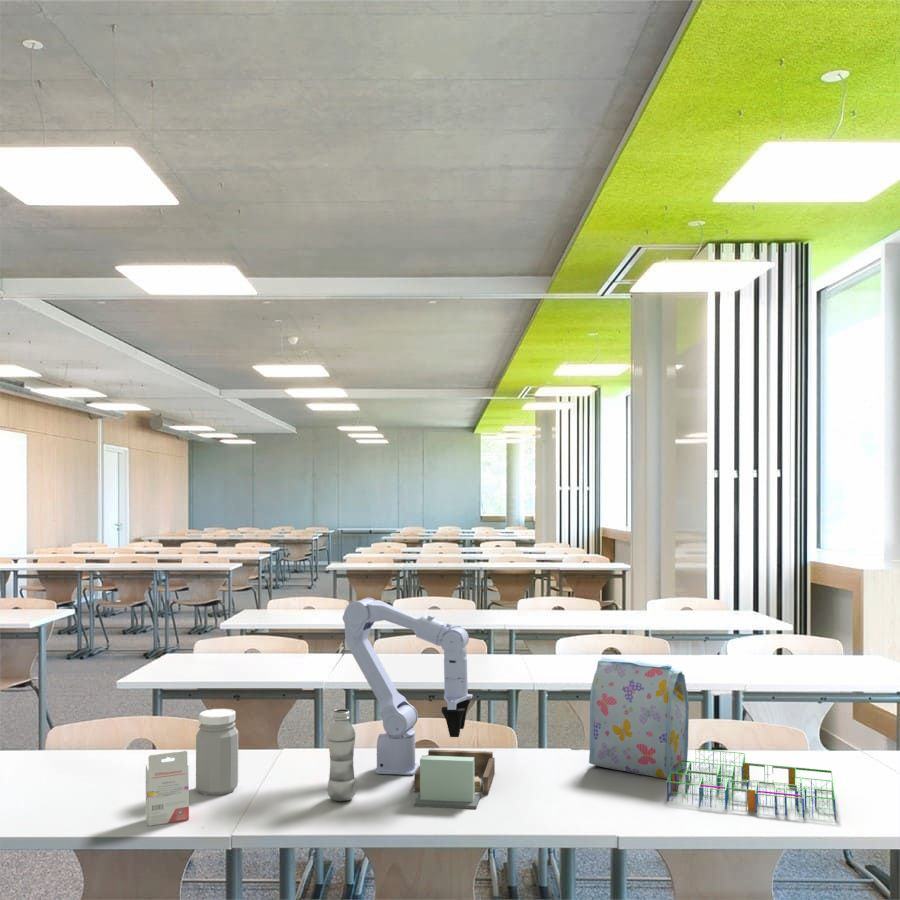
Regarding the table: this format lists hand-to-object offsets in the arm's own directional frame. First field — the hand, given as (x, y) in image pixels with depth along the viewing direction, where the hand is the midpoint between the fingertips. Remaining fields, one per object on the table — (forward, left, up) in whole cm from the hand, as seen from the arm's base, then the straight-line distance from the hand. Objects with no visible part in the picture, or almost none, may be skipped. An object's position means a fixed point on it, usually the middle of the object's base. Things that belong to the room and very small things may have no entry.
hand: (457, 732), depth 228 cm
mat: (0, -19, -10) cm, 22 cm away
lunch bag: (+45, +12, -11) cm, 48 cm away
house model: (+69, -3, -11) cm, 70 cm away
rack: (0, -4, -10) cm, 11 cm away
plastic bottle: (-24, -21, -11) cm, 33 cm away
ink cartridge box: (-58, -38, -11) cm, 70 cm away
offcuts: (0, -10, -11) cm, 15 cm away
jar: (-55, -18, -11) cm, 58 cm away
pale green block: (0, -19, -10) cm, 21 cm away
